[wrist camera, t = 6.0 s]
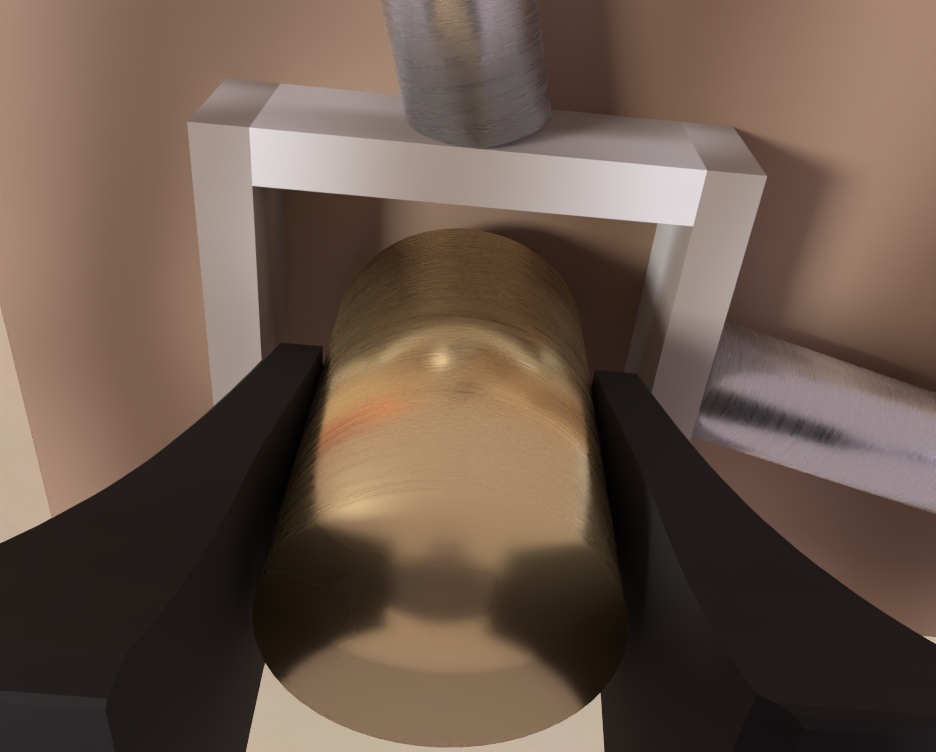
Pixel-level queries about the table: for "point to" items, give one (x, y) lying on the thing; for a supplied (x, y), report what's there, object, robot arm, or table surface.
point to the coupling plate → (471, 214)
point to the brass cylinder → (447, 507)
